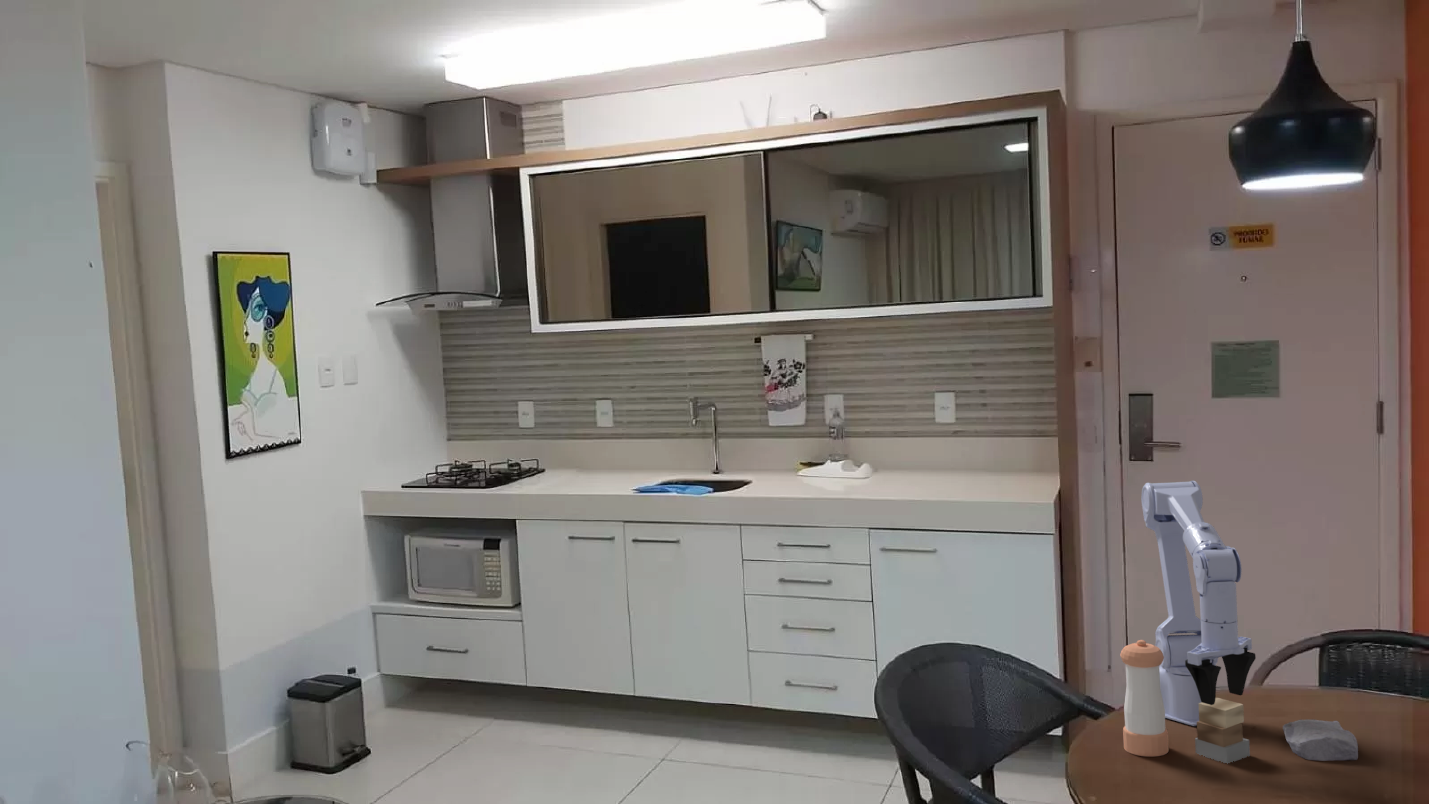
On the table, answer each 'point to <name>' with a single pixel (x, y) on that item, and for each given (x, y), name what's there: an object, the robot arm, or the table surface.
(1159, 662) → the pepper shaker
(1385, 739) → the table surface
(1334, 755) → the stone block
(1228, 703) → the oak block
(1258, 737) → the table surface
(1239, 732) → the walnut block
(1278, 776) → the table surface
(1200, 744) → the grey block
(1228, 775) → the table surface
